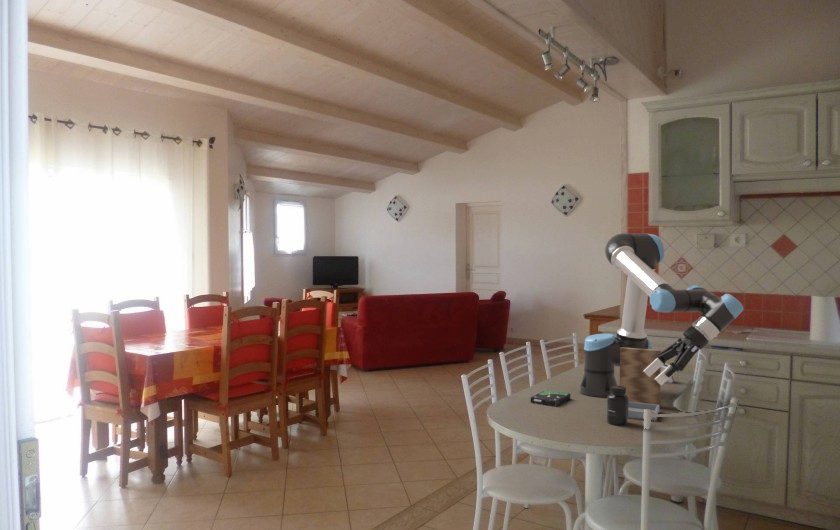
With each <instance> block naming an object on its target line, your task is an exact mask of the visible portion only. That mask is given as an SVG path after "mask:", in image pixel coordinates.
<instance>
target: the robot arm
mask: <svg viewBox="0 0 840 530" xmlns="http://www.w3.org/2000/svg"><path fill="white" fill-rule="evenodd" d="M605 244H606V245H605V248H604V254H605V258H606V259H607V261H608V262H609V263H610V265H611V266H612V267H614V268H615V269H619V270H621V271H622V272H623V273H624V274H625V275H626V276H627V279H626V285H625V292H624V293H625V294H624V300H623V301H624V302H623V310H622V320H621V325H620V326H621V327H620V328H619V329H617V331H616V336H615V335H614V334H612V333H596V334H591V335H588V336H587V337H585V339H584V346H583V351H584V352H583V355H584V358H583V360H584V361H583V364H584V366H583V375H582V378H581V381H580V383H579V389H578V390H579V394H582V395H585V396H591V397H596V398H597V397H599V398H600V397H601V398H607V397H608V395H609V394H611V392H610V390H611V386H618V382H617V380H616V377H615V367H620V348H621V347H625V348H639V349H652V343H651V341H650V339H649V338H648V334H647V333H646V332H645V329H644V328H645V323H646V322H645V321H646V315H647V313H646V312H647V307H648V298H649V305H651V309H652V310H653V311H655V312H657V313H664V314H666V313H667V314H668V313H700V314H701V315H700V316H699V317H698V318H697V319H696V320H695V321H693V322H692V325H691V326H688V328H686V329H685V330H684V331H683V332H682V335H683V336H684V339H682V338H678V339H677V340H675V342H673V343H672V344H670V345H669V346H668V347H666V348H665V349H663V350H661V352H660V353H659V354H657V356H658V357H657V359H656V360H654V361H653V362H652V363H651V364H650V365H649V366H648V367H647V368H646V369H645V370H644V372H645V373H646V374H647V375H648V376H649V377H650V376H651V375H652V374H653V373H654V372H656V371H657V370H658V369H659V368H660V367H661V366H662V365H663V364H665V363H666V362H667V361H669V360H671V359H673V358H674V357H675V358H674V361H671V363H669V364H668V365H669V366H668V367H667V368H666V369H665V370H664V371H663V372H662V373H661V374H659V375H658V376H657V377H656V378H655V380H656V381H657V382H658V383H659V384H660V387H661V386H663V385H664V384H665V383H667V382H666V381H667V380H668V379H669V378H670V377H671V376H672V375H673V376H674V375H675V374H676V373H677V372H679V371H680V372H683V370H685V368H686V367H687V365H688V364H689V363H690V361H691V360H692V359H693V357H694V356H695V354H697V353H698V352H699V350H703V348H705V347H706V346H707V345H708V344H709V341H712V340H713V339H714V338H718V335H719V334H720V333H721V332H722V331H724V329H725V328H726V327H728V326H729V325H730V324H731V323H732V322H733V321H734V320H736V319H737V317H739V315H740V314H742V312H743V311H744V306H743V303H741V302H740V301H739V300H738V299H737V298H736V297H734V295H732V294H730V293H725V294H723V295H722V296H720V297H719V296H718V295H716V294H714V293H712V291H710V290H708V289H707V288H704V287H702V286H700V285H696V284H695V285H691V286H689V287H687V288H686V289H675V288H674V287H672V286H671V285H670V284H669V283H668V282H667V281H666V280H664V279H663V278H662V277H661V276H660V275H659V274H658V273H657V272H656V268H657V264H659V263H661V262H662V261H663V259H664V257H665V246H664V243H663V241H662V240H661V238H660V237H659V236H657V235H656V234H652V233H626V232H624V233H623V232H622V233H617V234H614V235H613V236H612V237H611V238H610V239H608V241H607V242H606V243H605ZM652 350H653V349H652Z"/></svg>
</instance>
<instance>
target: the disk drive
mask: <svg viewBox="0 0 840 530" xmlns="http://www.w3.org/2000/svg"><path fill="white" fill-rule="evenodd" d="M569 399H570V400H571V393H567V392H561V391H552V390H543V391H541V392H539V393H537V394H535V395H532V396H531V397H530V404H531V403H532V404H535V403H537V404H536V405H541V404H543V406H548V407H553V408H554V407H555V408H556V407H558V406H560V405H561V404H562V405H563V404H564V403H565V401H566V402H568V401H569ZM567 400H568V401H567Z"/></svg>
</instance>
